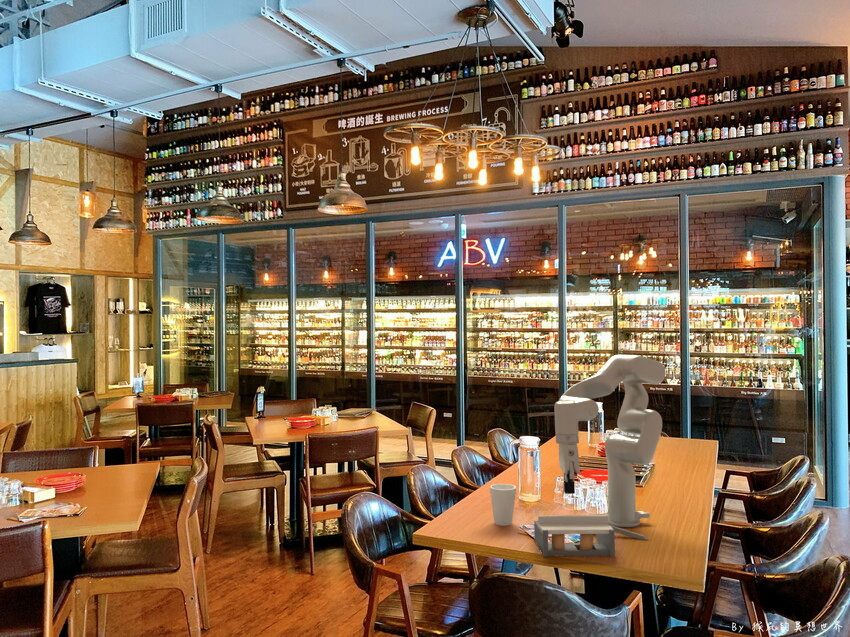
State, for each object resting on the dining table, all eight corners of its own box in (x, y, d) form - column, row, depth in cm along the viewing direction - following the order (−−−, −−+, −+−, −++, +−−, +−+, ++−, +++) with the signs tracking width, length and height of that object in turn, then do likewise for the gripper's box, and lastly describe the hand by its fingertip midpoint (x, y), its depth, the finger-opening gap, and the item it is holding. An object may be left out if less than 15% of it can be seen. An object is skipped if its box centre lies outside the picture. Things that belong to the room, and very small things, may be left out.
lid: (607, 526, 201) (607, 515, 201) (613, 533, 194) (613, 521, 194) (538, 526, 201) (538, 515, 201) (542, 534, 194) (542, 521, 194)
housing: (600, 540, 208) (600, 515, 208) (614, 556, 193) (614, 530, 193) (534, 540, 208) (534, 516, 208) (543, 556, 193) (543, 530, 193)
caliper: (585, 533, 216) (585, 514, 216) (586, 532, 217) (586, 514, 217) (648, 541, 208) (648, 522, 208) (648, 540, 209) (648, 521, 209)
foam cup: (520, 521, 229) (520, 485, 229) (510, 528, 221) (510, 491, 221) (496, 517, 234) (496, 482, 234) (485, 524, 226) (485, 488, 226)
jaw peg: (594, 554, 195) (595, 536, 195) (582, 554, 194) (583, 536, 195) (588, 549, 199) (589, 532, 199) (577, 549, 198) (577, 532, 198)
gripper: (584, 442, 202) (586, 499, 202) (573, 433, 216) (575, 486, 217) (560, 443, 202) (563, 500, 202) (551, 434, 216) (553, 487, 217)
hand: (569, 492), depth 209 cm, fingers closed
